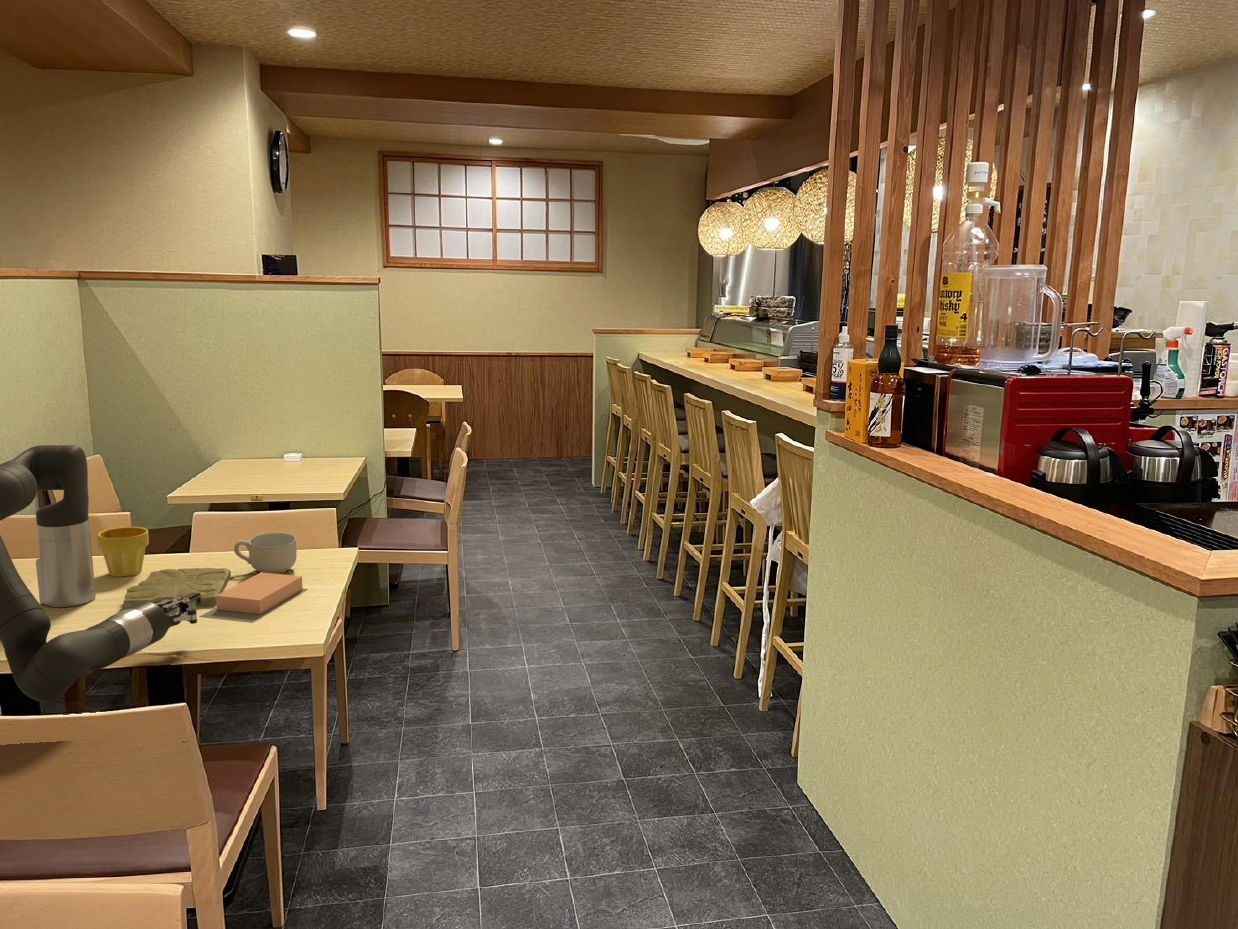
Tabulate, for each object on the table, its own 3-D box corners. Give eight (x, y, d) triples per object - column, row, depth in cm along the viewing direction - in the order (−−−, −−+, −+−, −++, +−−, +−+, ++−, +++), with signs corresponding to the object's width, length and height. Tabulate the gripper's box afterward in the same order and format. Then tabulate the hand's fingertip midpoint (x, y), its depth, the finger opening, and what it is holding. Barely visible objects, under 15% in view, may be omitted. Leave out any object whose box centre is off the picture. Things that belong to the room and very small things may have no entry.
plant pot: (161, 568, 210) (158, 528, 209) (127, 581, 201) (124, 540, 199) (124, 563, 213) (121, 524, 211) (89, 577, 203) (86, 535, 201)
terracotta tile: (215, 595, 183) (261, 572, 199) (216, 609, 184) (261, 585, 199) (259, 600, 182) (302, 576, 197) (260, 614, 182) (302, 589, 198)
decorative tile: (232, 579, 206) (231, 564, 205) (217, 609, 187) (216, 593, 186) (142, 584, 201) (141, 569, 200) (118, 615, 182) (117, 599, 181)
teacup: (304, 564, 216) (303, 533, 215) (287, 579, 206) (286, 545, 204) (248, 562, 217) (246, 531, 215) (227, 577, 206) (225, 543, 204)
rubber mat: (199, 618, 180) (199, 616, 180) (260, 585, 200) (259, 584, 200) (252, 624, 178) (252, 622, 178) (308, 590, 198) (308, 589, 198)
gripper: (100, 646, 155) (168, 612, 172) (166, 655, 153) (229, 619, 169) (96, 605, 154) (165, 575, 170) (163, 613, 151) (227, 581, 168)
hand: (197, 597), depth 170 cm, fingers closed
